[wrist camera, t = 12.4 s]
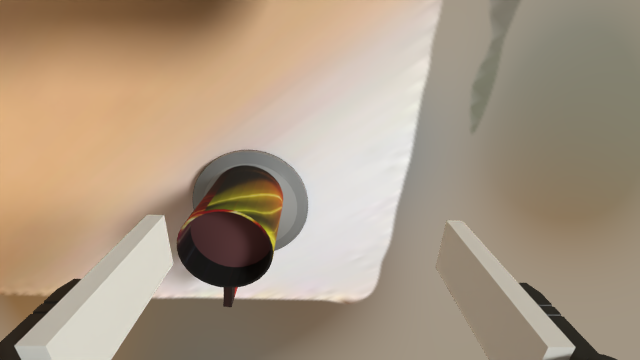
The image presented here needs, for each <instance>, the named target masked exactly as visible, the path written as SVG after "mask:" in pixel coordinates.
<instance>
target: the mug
mask: <svg viewBox="0 0 640 360" xmlns="http://www.w3.org/2000/svg"><path fill="white" fill-rule="evenodd" d="M282 206H283V192H282V189H281V187H280V185H279V183H278V181H277V180H276V179H275V178H274V177H273V176H272V175H271V174H270V173H269V172H267V171H265V170H263V169H261V168H258V167H256V166H250V165H240V166H236V167H233V168H230V169H228V170H226V171H225V172H224V173H222V174H221V175H220V177H219V178H218V179H217V180H216V182H215V183H214V184H213V186H212V187H211V188H210V190H209V191H208V192H207V194H206V195H205V196H204V198H203V199H202V200H201V202H200V203H199V204H198V206H197V207H196V209H195V210H194V211H193V213H192V214H191V215H190V217H189V218H188V219H187V221H186V222H185V223H184V225H183V226H182V228H181V230H180V232H179V234H178V238H177V251H178V255H179V258H180V260H181V262H182V264H183V265H184V266H185V267H186V269H187V270H188V271H189V272H190V273H191V274H192V275H194V276H195V277H196V278H198V279H200V280H201V281H203V282H206V283H208V284H210V285H214V286H218V287H224V304H223V305H224V306H226V307H232V303H233V300H234V297H235V294H236V291H237V288H238V287H241V286H246V285H248V284H251V283H253V282H255V281H257V280H258V279H260V278H261V277H262V276H263V275H264V274H265V273H266V272H267V270H268V269H269V267H270V265H271V262H272V259H273V254H274V248H275V243H276V238H277V232H278V227H279V222H280V217H281V211H282Z"/></svg>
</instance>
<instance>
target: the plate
mask: <svg viewBox="0 0 640 360" xmlns="http://www.w3.org/2000/svg"><path fill="white" fill-rule="evenodd" d="M240 165H250V166H256V167H258V168H261V169H263V170H265V171H267V172H269V173H270V174H271V175H272V176H273V177H274V178H275V179H276V180H277V181H278V183H279V185H280V187H281V189H282V192H283V206H282V211H281V217H280V222H279V227H278V232H277V238H276V243H275V248H274V251H275V250H278V249H280V248H282V247H284V246H286V245H287V244H289V243H290V242H291V241H292V240H293V239H295V238H296V237H297V235H298V234H299V233H300V231H301V230H302V228H303V226H304V224H305V221H306V218H307V213H308V197H307V192H306V189H305V186H304V184H303V182H302V180H301V178H300V177H299V175H298V174H297V172H296V171H295V170H294V169H293V168H292V167H291V166H290V165H289V164H287V163H286V162H285V161H283V160H282V159H280V158H278V157H276V156H274V155H272V154H269V153H266V152H262V151H257V150H239V151H233V152H230V153H227V154H225V155H222V156H220V157H219V158H217V159H215V160H214V161H213V162H212V163H210V164H209V165H208V166H207V167H206V168H205V170H204V171H203V172H202V173H201V174H200V176H199V178H198V179H197V182H196V184H195V187H194V191H193V208H194V210H195V209H196V207H197V206H198V204H199V203H200V202H201V200H202V199H203V198H204V196H205V195H206V194H207V192H208V191H209V190H210V188H211V187H212V186H213V184H214V183H215V182H216V180H217V179H218V178H219V177H220V175H221V174H222V173H224V172H225V171H226V170H228V169H230V168H233V167H236V166H240Z"/></svg>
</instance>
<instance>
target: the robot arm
mask: <svg viewBox="0 0 640 360" xmlns="http://www.w3.org/2000/svg"><path fill="white" fill-rule="evenodd" d="M172 265H173V259H172V254H171V248H170V243H169V238H168V233H167V227H166V222H165V217H164V215H146V216H145V217H144V218H143V219H142V220H141V221H140V222H139V223H138V224H137V225H136V226H135V227H134V228H133V229H132V230H131V231H130V232H129V233H128V234H127V235H126V236H125V237H124V238H123V239H122V240H121V241H120V242H119V243H118V244H117V245H116V246H115V247H114V248H113V249H112V250H111V251H110V252H109V253H108V254H107V255H106V256H105V257H104V258H103V259H102V260H101V261H100V262H99V263H98V264H97V265H96V266H95V267H94V268H93V269H92V270H91V271H90V272H89V273H87V274H86V275H85V276H84V277H83V278H82V279H73V280H72V281H70V282H68V283H67V284H65V285H63V286H62V287H60V288H58V289H57V290H56V291H55V292H54V293H53V294H51V295H50V296H49V297H48V298H47V299H46V300H45V301H44V303H43V304H41V305H40V306H39V307H37V309H35V310H34V311H33V314H30V315H29V316H28V317H27V318H26V319H25V320H24V321H23V322H21V323H20V324H19V325H18V326H17V327H16V328H15V329H14V330H13V331H12V332H11V333H10V334H8V336H6V337H5V338H4V339H3V340H2V341H1V342H0V360H111V359H112V357H113V356H114V354H115V353H116V351H117V350H118V348H119V347H120V345H121V344H122V342H123V341H124V339H125V337H126V336H127V334H128V333H129V331H130V330H131V328H132V327H133V325H134V324H135V322H136V321H137V319H138V318H139V316H140V314H141V313H142V311H143V310H144V308H145V307H146V305H147V304H148V302H149V301H150V299H151V298H152V296H153V295H154V293H155V291H156V290H157V288H158V287H159V285H160V284H161V282H162V281H163V279H164V278H165V276H166V275H167V273H168V272H169V270H170V268H171V267H172ZM436 269H437V271H438V272H439V274H440V276H441V278H442V279H443V281H444V283H445V284H446V286H447V288H448V289H449V291H450V293H451V295H452V297H453V298H454V300H455V302H456V303H457V305H458V307H459V309H460V310H461V312H462V314H463V316H464V317H465V319H466V321H467V323H468V324H469V326H470V328H471V329H472V331H473V333H474V335H475V336H476V338H477V340H478V342H479V343H480V345H481V347H482V349H483V350H484V352H485V354H486V356H487V357H488V359H489V360H617V359H615V358H612V357H609V356H606V355H601V354H598V353H597V351H596V350H595V349H594V348H593V347H592V346H591V345H590V344H589V343H588V342H587V341H586V340H585V339H584V338H583V337H582V336H581V335H580V334H579V333H578V332H577V331H576V330H575V328H573V326H572V325H571V324H570V323H569V322H568V321H567V320H566V319H565V318H564V317H562V316H561V314H560V313H559V312H558V311H557V309H555V307H552V305H551V303H550V302H549V301H548V300H547V299H546V298H545V297H544V296H543V295H542V294H541V293H540V292H539V291H537V290H536V289H534V288H533V287H531V286H530V285H528V284H527V283H518V282H517V281H516V280H515V279H514V278H513V277H512V276H511V274H510V273H509V272H508V271H507V270H506V269H505V268H504V267H503V265H502V264H501V263H500V262H499V261H498V260H497V259H496V258H495V257H494V255H493V254H492V253H491V252H490V251H489V250H488V249H487V248H486V247H485V245H484V244H483V243H482V242H481V241H480V240H479V239H478V238H477V236H475V234H474V233H473V232H472V231H471V230H470V229H469V228H468V226H467V225H466V224H465V223H464V222H463V221H454V220H452V221H451V220H447V221H446V225H445V229H444V234H443V238H442V242H441V246H440V250H439V255H438V259H437V263H436Z"/></svg>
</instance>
